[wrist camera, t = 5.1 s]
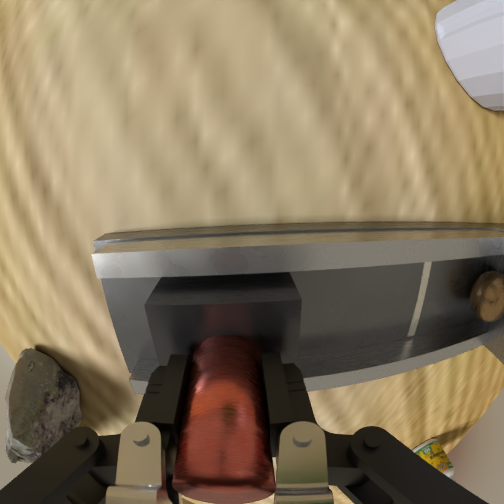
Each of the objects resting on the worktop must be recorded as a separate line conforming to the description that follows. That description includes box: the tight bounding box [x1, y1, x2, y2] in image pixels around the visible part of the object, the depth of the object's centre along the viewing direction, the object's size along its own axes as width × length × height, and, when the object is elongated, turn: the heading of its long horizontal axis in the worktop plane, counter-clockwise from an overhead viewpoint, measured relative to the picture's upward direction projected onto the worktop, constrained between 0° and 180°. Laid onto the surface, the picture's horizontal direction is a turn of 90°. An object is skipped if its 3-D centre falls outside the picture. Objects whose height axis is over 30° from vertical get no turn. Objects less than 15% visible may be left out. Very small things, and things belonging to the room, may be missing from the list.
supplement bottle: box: [412, 439, 456, 482], centre depth 21 cm, size 5×5×10 cm
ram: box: [144, 272, 302, 504], centre depth 10 cm, size 6×6×10 cm
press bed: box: [92, 222, 504, 395], centre depth 13 cm, size 9×30×8 cm, turn 92°
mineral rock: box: [5, 348, 82, 463], centre depth 14 cm, size 13×11×10 cm
